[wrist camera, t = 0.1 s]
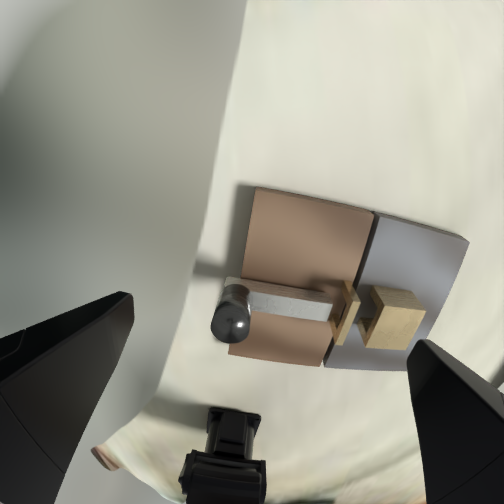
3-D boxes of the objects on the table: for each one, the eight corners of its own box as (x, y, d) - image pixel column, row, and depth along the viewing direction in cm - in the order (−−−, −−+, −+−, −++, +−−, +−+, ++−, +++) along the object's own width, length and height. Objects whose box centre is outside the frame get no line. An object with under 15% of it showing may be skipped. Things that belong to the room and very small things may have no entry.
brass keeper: (394, 328, 23) (405, 350, 20) (328, 320, 23) (335, 344, 20) (411, 291, 21) (426, 310, 19) (343, 279, 21) (353, 301, 18)
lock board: (402, 362, 26) (406, 371, 25) (230, 343, 26) (228, 354, 25) (461, 236, 21) (469, 241, 19) (256, 186, 21) (255, 190, 19)
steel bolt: (322, 314, 22) (332, 357, 18) (221, 297, 22) (209, 339, 18) (330, 288, 21) (344, 330, 17) (225, 270, 21) (212, 309, 17)
